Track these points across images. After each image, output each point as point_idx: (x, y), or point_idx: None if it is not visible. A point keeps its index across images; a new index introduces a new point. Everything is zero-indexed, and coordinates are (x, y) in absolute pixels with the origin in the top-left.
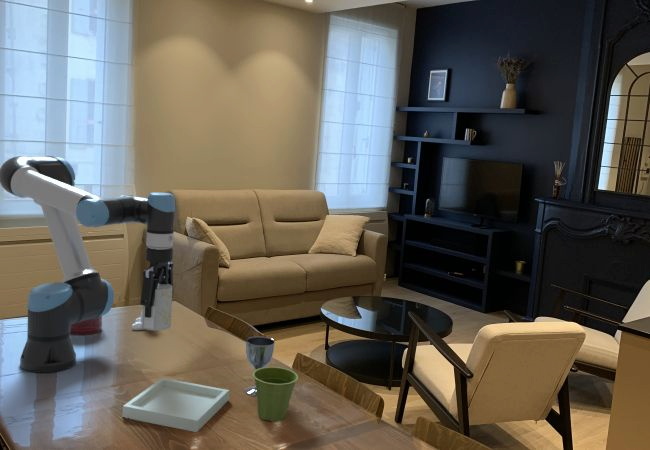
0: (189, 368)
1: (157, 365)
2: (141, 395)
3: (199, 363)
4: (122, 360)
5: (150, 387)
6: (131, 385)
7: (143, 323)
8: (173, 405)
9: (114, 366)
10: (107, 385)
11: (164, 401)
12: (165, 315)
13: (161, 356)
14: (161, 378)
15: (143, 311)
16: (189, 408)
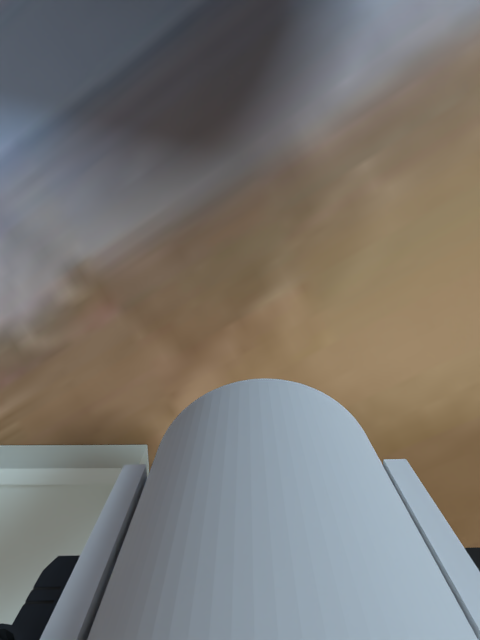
0: (376, 448)
1: (355, 319)
2: None
3: (446, 460)
4: (348, 138)
5: (28, 474)
6: (112, 334)
7: (163, 445)
8: (10, 560)
9: (261, 149)
10: (63, 249)
11: (20, 524)
12: None
13: (470, 279)
14: None
15: (146, 506)
16: (18, 609)
